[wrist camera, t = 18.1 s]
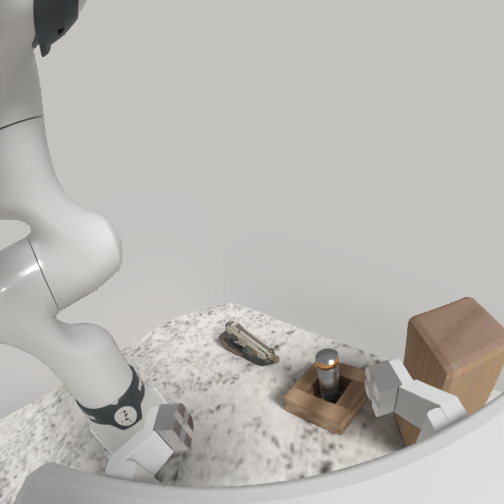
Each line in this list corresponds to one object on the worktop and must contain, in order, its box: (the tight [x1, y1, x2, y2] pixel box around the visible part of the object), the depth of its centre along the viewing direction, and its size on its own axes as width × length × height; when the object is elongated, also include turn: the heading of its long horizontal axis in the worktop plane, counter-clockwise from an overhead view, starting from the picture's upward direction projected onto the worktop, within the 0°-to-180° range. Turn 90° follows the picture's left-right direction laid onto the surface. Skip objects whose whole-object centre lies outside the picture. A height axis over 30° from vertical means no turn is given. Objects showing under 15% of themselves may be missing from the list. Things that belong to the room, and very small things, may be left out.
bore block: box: [282, 361, 368, 435], centre depth 40 cm, size 11×11×4 cm
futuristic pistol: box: [219, 321, 280, 366], centre depth 56 cm, size 2×15×10 cm, turn 49°
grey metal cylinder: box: [316, 349, 341, 404], centre depth 39 cm, size 3×3×11 cm
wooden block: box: [395, 297, 504, 447], centre depth 25 cm, size 10×10×20 cm
